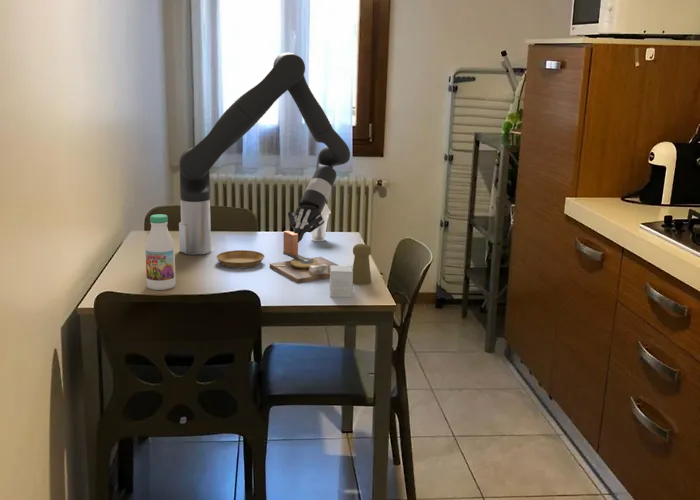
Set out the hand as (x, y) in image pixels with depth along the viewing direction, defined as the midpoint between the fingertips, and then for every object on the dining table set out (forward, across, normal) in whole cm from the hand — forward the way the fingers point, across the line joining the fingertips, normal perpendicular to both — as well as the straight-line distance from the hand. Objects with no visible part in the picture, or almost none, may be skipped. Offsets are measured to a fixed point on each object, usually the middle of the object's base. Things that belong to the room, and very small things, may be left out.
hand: (295, 240), depth 236 cm
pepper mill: (+9, +26, +1) cm, 28 cm away
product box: (+19, +26, -8) cm, 33 cm away
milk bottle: (+34, -18, -24) cm, 45 cm away
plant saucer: (+12, -14, -1) cm, 18 cm away
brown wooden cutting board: (+8, +8, +2) cm, 12 cm away
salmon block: (+6, +3, +1) cm, 7 cm away
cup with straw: (-16, -10, +27) cm, 33 cm away
